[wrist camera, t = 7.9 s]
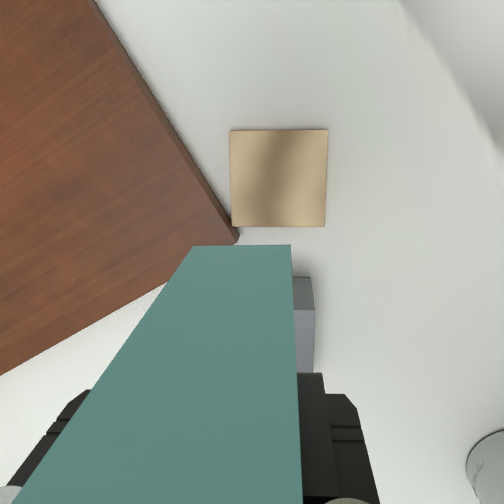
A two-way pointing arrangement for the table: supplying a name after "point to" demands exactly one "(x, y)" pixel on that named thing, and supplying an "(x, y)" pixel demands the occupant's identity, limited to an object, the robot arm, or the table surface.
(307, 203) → the mat
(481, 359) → the table surface
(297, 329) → the grey square socket block
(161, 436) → the plug
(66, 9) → the flat brown board
